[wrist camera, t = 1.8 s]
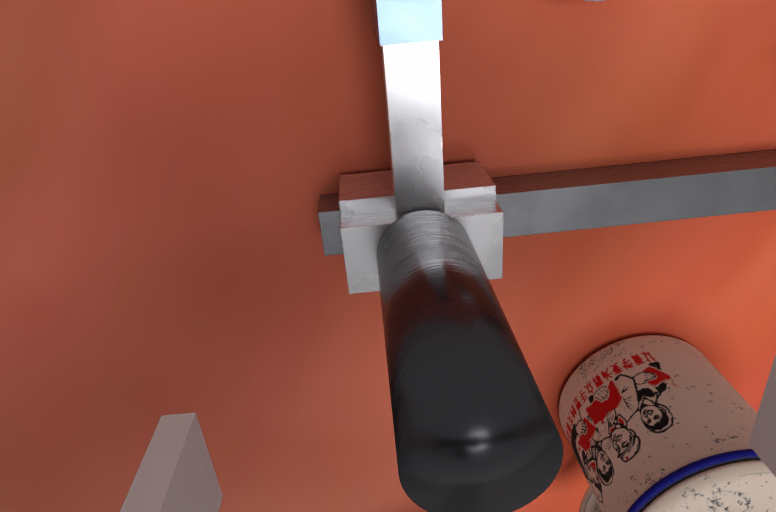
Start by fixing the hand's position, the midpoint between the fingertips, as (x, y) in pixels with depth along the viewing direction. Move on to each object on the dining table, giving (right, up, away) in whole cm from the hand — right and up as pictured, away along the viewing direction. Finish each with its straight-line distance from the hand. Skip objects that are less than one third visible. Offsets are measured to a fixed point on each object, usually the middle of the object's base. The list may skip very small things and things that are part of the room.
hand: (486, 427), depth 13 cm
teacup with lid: (+11, -5, +19) cm, 23 cm away
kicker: (-2, +11, +9) cm, 14 cm away
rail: (+8, +7, +12) cm, 16 cm away
